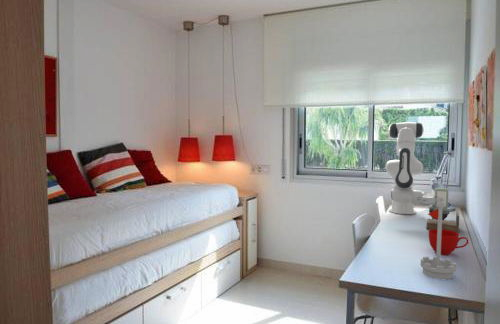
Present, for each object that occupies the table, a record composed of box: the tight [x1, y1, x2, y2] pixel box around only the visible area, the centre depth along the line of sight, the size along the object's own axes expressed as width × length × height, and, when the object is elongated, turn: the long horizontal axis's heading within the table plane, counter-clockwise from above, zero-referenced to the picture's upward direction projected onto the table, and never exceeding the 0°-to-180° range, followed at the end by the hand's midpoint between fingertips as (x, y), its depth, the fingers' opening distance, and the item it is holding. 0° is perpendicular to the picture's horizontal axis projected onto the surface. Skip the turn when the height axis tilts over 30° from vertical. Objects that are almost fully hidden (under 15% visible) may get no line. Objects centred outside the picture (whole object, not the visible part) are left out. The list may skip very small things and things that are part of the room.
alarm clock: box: [428, 203, 449, 220], centre depth 247 cm, size 11×5×16 cm, turn 84°
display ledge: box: [426, 211, 460, 234], centre depth 228 cm, size 14×17×10 cm
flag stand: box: [419, 202, 457, 280], centre depth 151 cm, size 13×13×30 cm
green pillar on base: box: [433, 187, 450, 215], centre depth 228 cm, size 9×9×14 cm
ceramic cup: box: [428, 229, 469, 256], centre depth 179 cm, size 13×17×10 cm
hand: (443, 199), depth 227 cm, fingers closed on green pillar on base, 4 cm apart
